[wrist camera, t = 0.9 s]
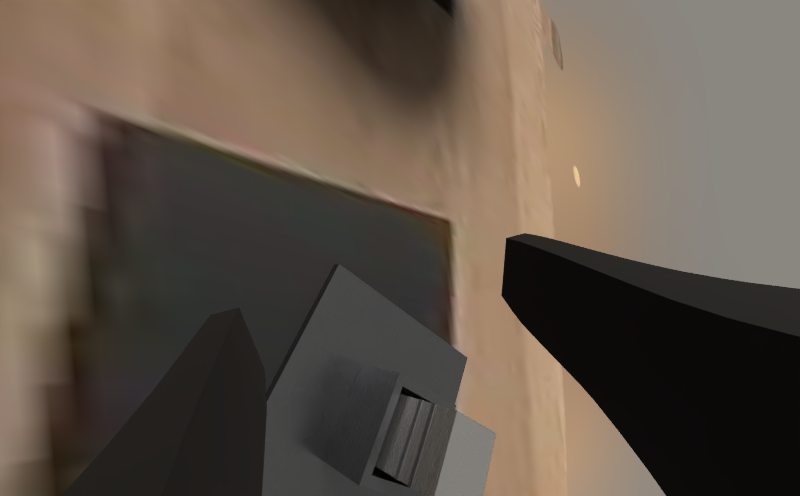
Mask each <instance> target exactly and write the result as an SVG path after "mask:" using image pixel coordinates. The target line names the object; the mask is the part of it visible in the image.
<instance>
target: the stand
mask: <svg viewBox="0 0 800 496" xmlns="http://www.w3.org/2000/svg"><path fill="white" fill-rule="evenodd" d="M466 361H467V357H466V356H464V355H463V354H461V353H460V352H459V351H457V350H456V349H455V348H453V347H452V346H451V345H449V344H448V343H446V342H445V341H444V340H442V339H441V338H440V337H438V336H437V335H435V334H434V333H433V332H431V331H430V330H429V329H427V328H426V327H425V326H423V325H422V324H420V323H419V322H418V321H416V320H415V319H414V318H412V317H411V316H409V315H408V314H407V313H405V312H404V311H403V310H401V309H400V308H398V307H397V306H396V305H394V304H393V303H392V302H390V301H389V300H388V299H386V298H385V297H383V296H382V295H381V294H379V293H378V292H377V291H375V290H374V289H372V288H371V287H370V286H368V285H367V284H366V283H364V282H363V281H362V280H360V279H359V278H357V277H356V276H355V275H353V274H352V273H351V272H349V271H348V270H346V269H345V268H344V267H342V266H341V265H340V264H337V265H334V267H333V269H332V271H331V272H330V274H329V276H328V278H327V280H326V282H325V284H324V286H323V287H322V289H321V291H320V293H319V295H318V297H317V299H316V301H315V303H314V304H313V306H312V308H311V310H310V312H309V314H308V316H307V318H306V320H305V321H304V323H303V325H302V327H301V329H300V331H299V333H298V335H297V336H296V338H295V340H294V342H293V344H292V346H291V348H290V350H289V352H288V353H287V355H286V357H285V359H284V361H283V363H282V365H281V367H280V368H279V370H278V372H277V374H276V376H275V378H274V380H273V382H272V384H271V385H270V387H269V389H268V391H267V393H266V401H267V417H266V436H265V453H264V470H263V486H262V496H425V495H423V494H422V493H420V492H418V491H417V490H415V489H412V488H410V487H408V486H407V485H406V484H405V483H403V482H401V481H398V480H396V479H394V477H393V476H391V475H389V474H387V473H386V472H384V471H382V470H380V469H379V468H377V467H375V464H376V461H377V458H378V455H379V453H380V450H381V447H382V444H383V441H384V438H385V435H386V433H387V430H388V427H389V424H390V421H391V418H392V415H393V413H394V410H395V407H396V404H397V401H398V398H399V395H400V394H402V395H406V396H409V397H413V398H416V399H421V400H424V401H426V402H429V403H435V404H437V405H439V406H443V407H446V408H449V409H453V410H455V407H456V405H455V401H456V398H457V394H458V390H459V387H460V383H461V379H462V376H463V372H464V368H465V365H466Z"/></svg>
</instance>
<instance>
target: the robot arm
mask: <svg viewBox="0 0 800 496" xmlns="http://www.w3.org/2000/svg"><path fill="white" fill-rule="evenodd" d="M502 297H503V298H504V300H505V301H506V302H507V304H508V305H509V307H510V308H511V310H512V311H513V312H514V314H515V315H516V316H517V318H518V319H519V320H520V322H521V323H522V324H523V325H524V326H525V327H526V328H527V330H528V331H529V332H530V333H531V334H532V335H533V336H534V337H535V338H536V339H537V340H538V341H539V342H540V343H541V344H542V345H543V346H544V347H545V348H546V350H547V351H548V352H549V353H550V354H551V355H552V356H553V357H554V358H555V359H556V360H557V361H558V362H559V363H560V364H561V365H562V366H563V367H564V368H565V369H566V370H567V371H568V372H569V373H570V374H571V375H572V376H573V377H574V378H575V380H576V381H577V382H578V383H579V384H580V385H581V386H582V387H583V388H584V389H585V390H586V391H587V393H588V394H589V395H590V396H591V397H592V398H593V399H594V401H595V402H596V403H597V404H598V406H599V407H600V408H601V409H602V410H603V412H604V413H605V414H606V416H607V417H608V418H609V419H610V421H611V422H612V423H613V424H614V426H615V427H616V428H617V429H618V431H619V432H620V433H621V435H622V436H623V437H624V439H625V440H626V441H627V443H628V444H629V445H630V447H631V448H632V449H633V451H634V452H635V453H636V455H637V456H638V457H639V458H640V460H641V461H642V463H643V464H644V465H645V467H646V468H647V469H648V471H649V472H650V473H651V475H652V476H653V478H654V479H655V480H656V482H657V483H658V485H659V486H660V487H661V489H662V490H663V492H664V493H665V495H666V496H800V289H796V288H787V287H779V286H772V285H764V284H755V283H748V282H740V281H734V280H728V279H721V278H716V277H710V276H704V275H699V274H693V273H687V272H682V271H677V270H673V269H667V268H663V267H659V266H654V265H650V264H646V263H641V262H637V261H632V260H629V259H624V258H621V257H617V256H613V255H609V254H606V253H601V252H598V251H594V250H591V249H587V248H583V247H580V246H576V245H572V244H569V243H565V242H561V241H557V240H554V239H550V238H546V237H541V236H537V235H531V234H525V233H524V234H520V235H517V236H513V237H509V238H506V249H505V261H504V273H503V285H502ZM266 417H267V401H266V385H265V373H264V367H263V364H262V362H261V360H260V357H259V355H258V352H257V350H256V348H255V345H254V343H253V340H252V338H251V336H250V333H249V331H248V328H247V326H246V324H245V321H244V319H243V316H242V314H241V311H240V309H239V308H236V309H232V310H228V311H224V312H220V313H216V314H213V315H210V317H209V318H208V319H207V320H206V322H205V323H204V324H203V326H202V327H201V328H200V330H199V331H198V332H197V334H196V335H195V336H194V338H193V339H192V340H191V342H190V343H189V344H188V346H187V347H186V348H185V350H184V351H183V352H182V354H181V355H180V356H179V358H178V359H177V360H176V362H175V363H174V364H173V365H172V367H171V368H170V369H169V371H168V372H167V373H166V375H165V376H164V377H163V378H162V380H161V381H160V382H159V384H158V385H157V386H156V388H155V389H154V390H153V391H152V393H151V394H150V395H149V396H148V397H147V399H146V400H145V401H144V402H143V403H142V404H141V406H140V407H139V408H138V409H137V410H136V412H135V413H134V414H133V415H132V416H131V418H130V419H129V420H128V421H127V422H126V424H125V425H124V426H123V427H122V428H121V430H120V431H119V432H118V433H117V434H116V436H115V437H114V438H113V439H112V440H111V442H110V443H109V444H108V445H107V446H106V447H105V448H104V449H103V451H102V452H101V453H100V454H99V455H98V456H97V457H96V458H95V460H94V461H93V462H92V463H91V464H90V465H89V466H88V467H87V468H86V469H85V471H84V472H83V473H82V474H81V475H80V476H79V477H78V478H77V479H76V480H75V481H74V482H73V483H72V484H71V485H70V487H69V488H68V489H67V490H66V491H65V492H64V493H63V494H62V495H61V496H262V486H263V470H264V453H265V436H266Z"/></svg>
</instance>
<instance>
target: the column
mask: <svg viewBox="0 0 800 496" xmlns="http://www.w3.org/2000/svg"><path fill="white" fill-rule="evenodd" d="M495 436H496V433H495V432H493V431H492V430H490V429H488V428H486V427H485V426H483V425H481V424H479V423H478V422H476V421H474V420H472V419H471V418H469V417H467V416H465V415H464V414H462V413H460V412H458V411H456V410H453V409H449V408H446V407H443V406H439V405H437V404H435V403H429V402H426V401H424V400H421V399H416V398H413V397H409V396H406V395H402V394H400V395H399V398H398V401H397V404H396V407H395V410H394V413H393V415H392V418H391V421H390V424H389V427H388V430H387V433H386V435H385V438H384V441H383V444H382V447H381V450H380V453H379V455H378V458H377V461H376V464H375V467H377V468H379V469H380V470H382V471H384V472H386V473H387V474H389V475H391V476H393V477H394V479H396V480H398V481H401V482H403V483H405V484H406V485H407V486H408V487H410V488H412V489H415V490H417V491H418V492H420V493H422V494H423V495H425V496H483V494H484V489H485V484H486V479H487V475H488V470H489V465H490V460H491V455H492V451H493V446H494V441H495Z"/></svg>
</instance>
